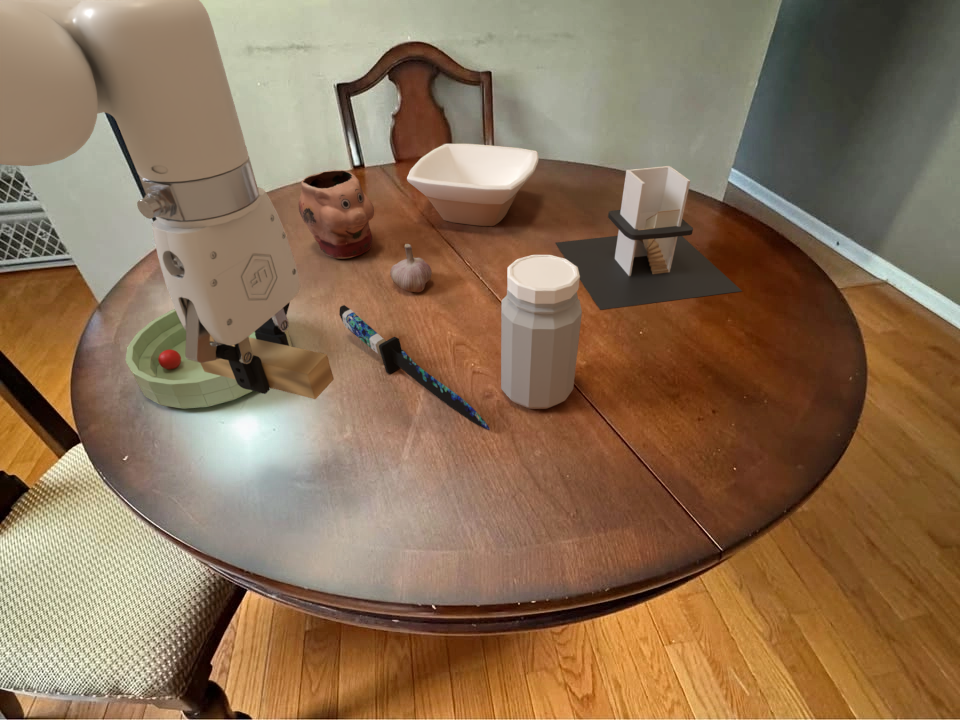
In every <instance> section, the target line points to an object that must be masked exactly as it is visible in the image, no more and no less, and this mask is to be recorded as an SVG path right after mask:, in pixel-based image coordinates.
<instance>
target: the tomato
mask: <svg viewBox="0 0 960 720" xmlns="http://www.w3.org/2000/svg"><path fill="white" fill-rule="evenodd" d="M158 361H159V364H160V365H161V366H162V367H163V368H165V369H169V370H170V369H175V368H177V367H178V366H179V365H180V363H181V356H180V354H179V353H178V352H177V351H175V350H165V351H163V352H162V353H161V354H160V355H159V358H158Z"/></svg>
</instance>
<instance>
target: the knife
mask: <svg viewBox="0 0 960 720" xmlns="http://www.w3.org/2000/svg"><path fill="white" fill-rule="evenodd" d="M338 312H339V318H340V319H341V322H342V324H343V325H344V327H345V328H346V329H347V330H348V331H350V332H351V333H352V334H353V335H354V336H356V337H357V338H358V339H359V340H360V341H362V342H363V343H364V344H365V345H366V346H368V347H369V348H370V349H371V350H372V351H373V352H375V353H376V354H377V355H378V356H379V357H381V360H382V363H383V366H384V369H385V372H386V373H387V374H390V375H391V374H393V373H395V372H396V371H398V370H400V369H401V370H402V371H403V372H404V373H406V374H407V375H408V376H409V377H411V378H412V379H413V380H414V381H416V382H417V383H418V384H419V385H421V386H422V387H423V388H425V390H427V391H428V392H430V393H431V394H432V395H434V396H435V397H436V398H437V399H440V400H441V401H442V402H443V403H445V404H446V405H447V406H448V407H450V408H452V409H453V410H454V411H456V412H457V413H458V414H460V415H461V416H463V417H464V418H466V419H467V420H469V421H471V423H474V424H475V425H477V426H478V427H480V428H483V430H487V431H490V430H491V428H490V426H489V425H488V423H487V422H486V421H485V420H484V418H483V417H482V416H481V415H480V414H479V412H477V411H476V409H474V408H473V406H471V404H469V403H468V402H467V401H466V400H465V399H464V398H462V396H460V395H458V394H457V393H456V392H455V391H453V390H452V389H450V388H449V387H447V385H445V384H444V383H442V382H441V381H439V380H438V379H436V378H435V376H432V375H431V374H429V373H428V372H427V371H426V370H424V369H423V368H422V367H421V366H420V365H418V364H417V363H416V362H415V361H414V359H412V358H411V357H410V356H409V354H408V353H406V351H405V350H404V349H403V348H402V344H401V341H400V338H399V337H397V336H393V337H391V338H389V339H387V340H386V339H385V338H384V337H383V336H382V335H380V334H379V333H378V332H377V331H376V330H375V329H373V328H372V327H371V326H370V325H369V324H368V323H366V322H365V320H363V318H361V317H360V316H359V315H358V314H357V313H355V312H354V311H353V310H352V309H351V308H349V307H348V306H346V305H345V304H343V305H341V306H339V311H338Z"/></svg>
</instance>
